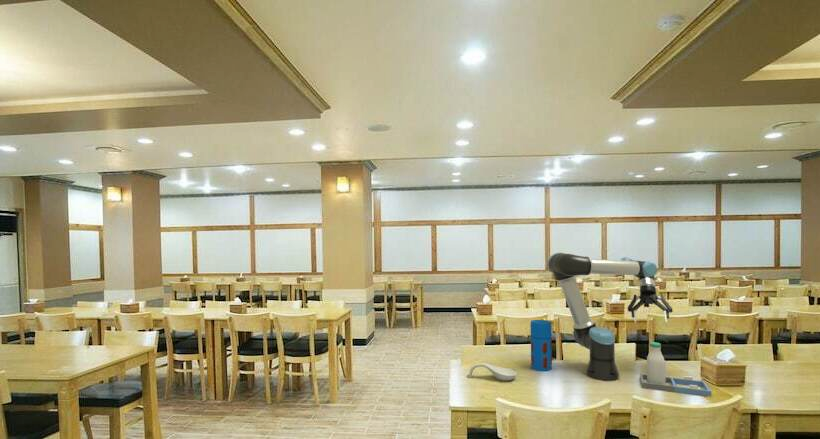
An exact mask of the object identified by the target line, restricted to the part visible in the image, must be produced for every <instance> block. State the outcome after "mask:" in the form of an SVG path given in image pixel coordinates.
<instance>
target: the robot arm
mask: <svg viewBox="0 0 820 439" xmlns="http://www.w3.org/2000/svg"><path fill="white" fill-rule="evenodd" d="M547 269H548V270H549V272H551V273H552V274H553V276H554V280H555V281H556V282H558V283H559V285H560V287H561V290H562V292H563V295H564V299H565V301H566V303H567V305H568V306H567V307H568V309H569V312H570V314H571V316H572V320H573V324H572V328H573V331H572V336H573V338H574V341H575V342H576V343H577V344H578V345H580V346H581V347H584V348H586V349H587V350H589V361H588V364H587V367H586V371H585V372H586V373H585V374H586V375H587V376H588V377H589V378H592V379H595V380H600V381H611V382H612V381H616V380H619V379H620V374H619V373H620V372H619V369H618V368H617V364H616V361H615V360H616V359H615V358H616V356H615V354H616V353H615V349H616V348H615V340H616V339H615V334H614V332H613V331H612V330H610V329H609V328H604V327H603V326H602V327H599V326H597V324H596V321H595V320H594V319H592V318H591V317H590V314H589V312H588V309H587V305H586V304H585V300H584V298H583V295H582V292H581V290H580V287H579V284H578V282H577V279H576V277H577V276H589V275H590V274H591V275H592V274H595V275H596V274H597V275H615V276H616V275H617V276H618V275H619V276H622V275H623V276H634V277H635V278H637V279H638V283H639V285H638V286H639V295H637V294H633V298H632V300H631V301H630V303H629V305H628V306H627V312H631V318H634V319H633V321H634V324H635V325H637V324H638V323H637V312H636V311H638V309H640V308H641V307H642V306H643V305H644V304H645V305H655V306H656V307H658V308H659V309H660V310H662V311H663V315H664V321H665V322H664V323H665V326H668V319H670V313H673V311H674V310H673V308H672V306H671V305H670V304H669V302H668V301H667V300H666V299H665V297H664V295H663V294H660V295H657V289H656V288H657V287H656V279H655V276H656V275H657V273H658V267H657V265H656V264H655V263H654V262H652V261H644V260H635V259H634V260H633V259H630V258H629V257H626V256H625V257H622V258H621V259H599V258H598V259H597V258H590V257H589V256H581V255H576V254H572V253H565V252H556V253H553V254H552V255H550V257H548V259H547ZM658 299H659V300H658ZM638 300H639V301H638ZM637 301H638V302H637ZM660 301H661V302H660Z"/></svg>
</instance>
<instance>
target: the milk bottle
mask: <svg viewBox="0 0 820 439" xmlns="http://www.w3.org/2000/svg"><path fill="white" fill-rule="evenodd" d="M649 347H650V349H649V352H648V355H647V356H646V374H647V380H646V383H654V384H662V385H667V383H666V377H667V376H666V361H665V358H664V356H663V354H662V351H661V349H662V344H661V343H660V342H655V341H652V342H651V341H650V342H649Z"/></svg>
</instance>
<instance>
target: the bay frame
mask: <svg viewBox="0 0 820 439" xmlns="http://www.w3.org/2000/svg"><path fill="white" fill-rule="evenodd" d="M639 381H640V386H641V388H642V389H647V390H654V391H661V392H671V393H677V394H685V395H693V396H698V397H699V396H700V397H707V396H712V389H710V387H709V386H708V384H707V382H705V380H704V381H703V380H698V379H697V380H694V379H693V376H690V375H689V376H687V375H684V378H680V377H679V378H678V377H670V376H666V385H662V384H654V383H647V373H646V374H645V373H639ZM645 381H646V382H645ZM668 384H670V385H668ZM677 385H682V386H677ZM683 385H684V386H683ZM686 386H688V387H686ZM701 388H703V389H701Z"/></svg>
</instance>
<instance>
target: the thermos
mask: <svg viewBox="0 0 820 439" xmlns="http://www.w3.org/2000/svg"><path fill="white" fill-rule="evenodd" d="M529 327H530V363H531V364H530V365H531V369H532V370H533V371H538V372H550V371H552V370H553V367H552V366H553V355H552V353H553V349H552V348H553V347H552V342H553V341H552V336H553V335H552V321H550V320H546V319H545V320H544V319H532V320H530V326H529Z"/></svg>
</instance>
